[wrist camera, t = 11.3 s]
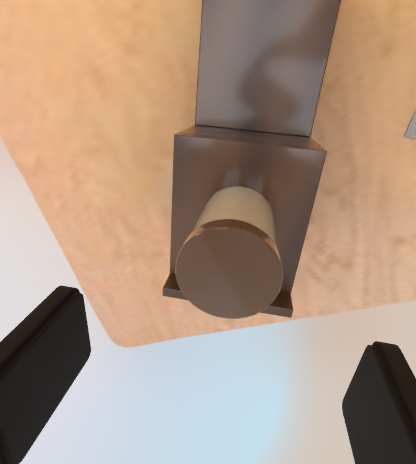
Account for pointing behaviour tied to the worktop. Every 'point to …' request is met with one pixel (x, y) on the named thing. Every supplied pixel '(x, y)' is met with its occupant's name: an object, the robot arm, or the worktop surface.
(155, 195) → the worktop surface
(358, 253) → the worktop surface
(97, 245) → the worktop surface
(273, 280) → the spice jar
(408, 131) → the stacked layers on plate
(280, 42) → the step rack
